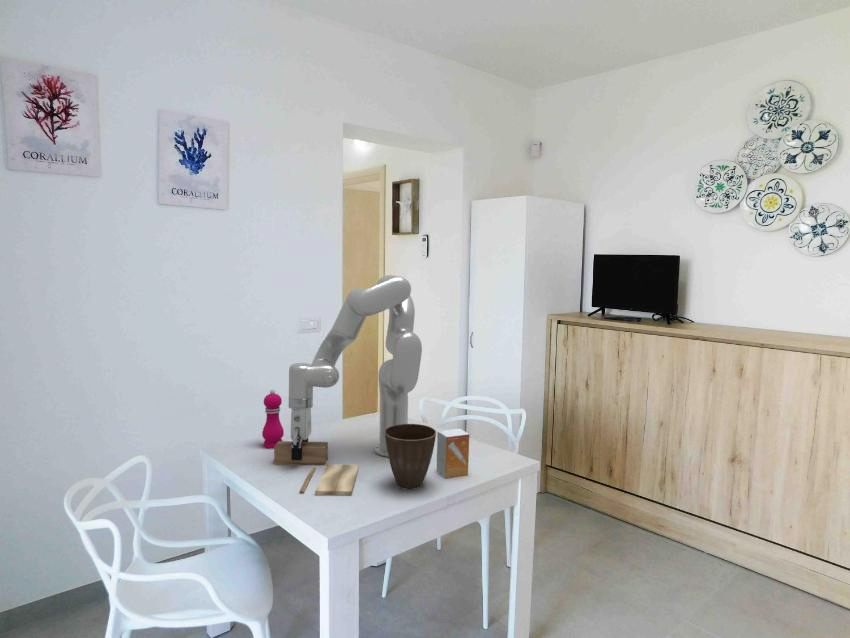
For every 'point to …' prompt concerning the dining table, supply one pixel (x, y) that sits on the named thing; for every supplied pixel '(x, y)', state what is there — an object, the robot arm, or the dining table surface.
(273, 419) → the pepper mill
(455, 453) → the small box
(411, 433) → the plant pot
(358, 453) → the dining table surface
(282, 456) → the brown wooden block
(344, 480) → the board
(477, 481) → the dining table surface
